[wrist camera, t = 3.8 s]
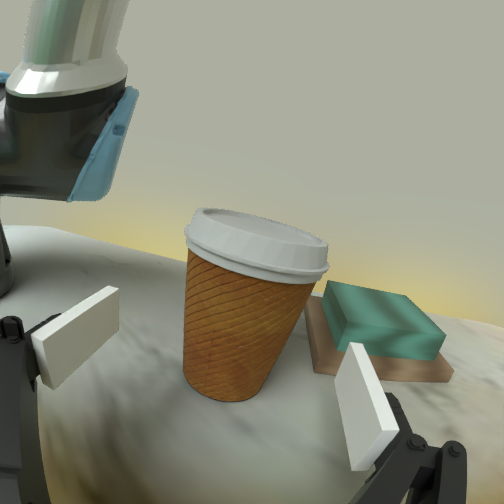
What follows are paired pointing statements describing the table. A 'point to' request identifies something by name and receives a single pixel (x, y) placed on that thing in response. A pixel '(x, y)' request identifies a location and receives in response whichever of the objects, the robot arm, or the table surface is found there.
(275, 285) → the disposable coffee cup
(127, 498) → the table surface
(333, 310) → the display stand
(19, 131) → the robot arm
